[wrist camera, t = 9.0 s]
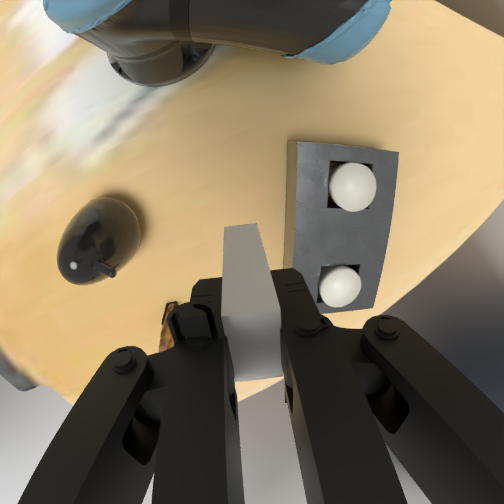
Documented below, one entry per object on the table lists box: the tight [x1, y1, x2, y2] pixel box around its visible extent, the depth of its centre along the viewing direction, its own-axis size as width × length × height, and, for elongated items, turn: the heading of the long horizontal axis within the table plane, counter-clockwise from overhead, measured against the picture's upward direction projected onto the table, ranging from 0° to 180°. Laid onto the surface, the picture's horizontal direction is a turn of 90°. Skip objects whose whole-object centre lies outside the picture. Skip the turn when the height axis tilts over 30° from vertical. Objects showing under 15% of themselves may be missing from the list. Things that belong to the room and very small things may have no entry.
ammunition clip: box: [159, 301, 178, 352], centre depth 40 cm, size 11×2×12 cm, turn 12°
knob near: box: [328, 162, 376, 212], centre depth 34 cm, size 6×6×7 cm
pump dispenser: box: [57, 197, 141, 285], centre depth 31 cm, size 10×10×15 cm
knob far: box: [319, 265, 361, 307], centre depth 39 cm, size 6×6×7 cm
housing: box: [283, 141, 399, 314], centre depth 37 cm, size 24×14×6 cm, turn 0°
